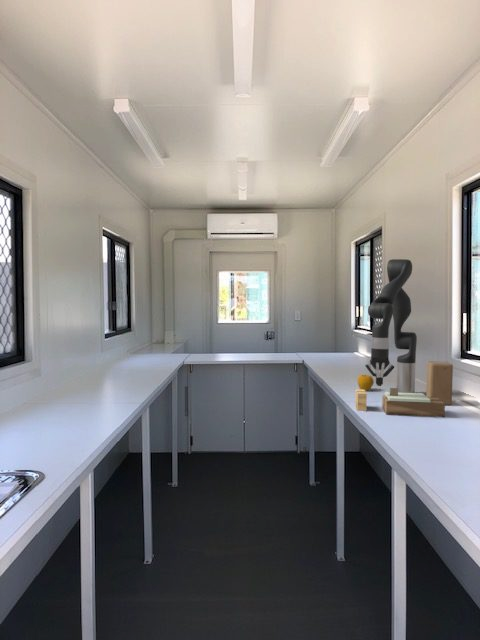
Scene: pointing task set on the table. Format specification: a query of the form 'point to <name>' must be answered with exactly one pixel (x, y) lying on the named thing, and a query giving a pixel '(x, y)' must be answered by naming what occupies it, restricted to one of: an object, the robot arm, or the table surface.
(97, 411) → the table surface
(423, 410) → the wooden box
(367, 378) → the apple
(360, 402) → the key
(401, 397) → the lid
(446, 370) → the wooden block
